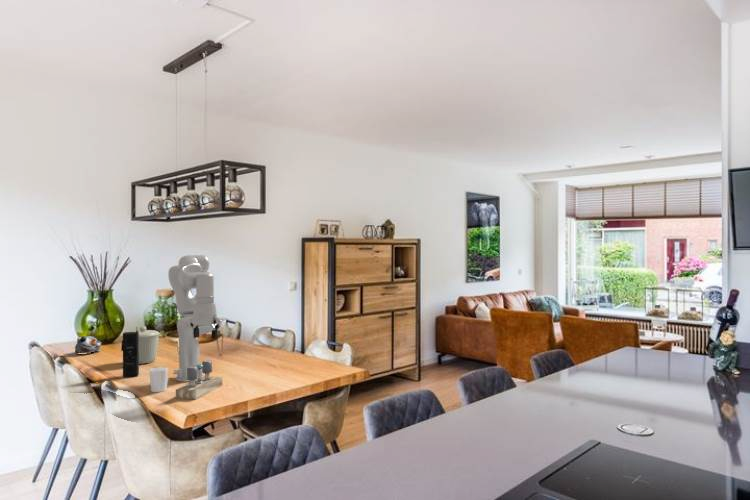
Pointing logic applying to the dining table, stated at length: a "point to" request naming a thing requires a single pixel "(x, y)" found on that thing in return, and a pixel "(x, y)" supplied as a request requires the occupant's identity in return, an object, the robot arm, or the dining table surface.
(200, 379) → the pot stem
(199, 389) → the mount panel
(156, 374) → the white cup
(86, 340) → the lucky cat figurine
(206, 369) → the knob
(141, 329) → the canister
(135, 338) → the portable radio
